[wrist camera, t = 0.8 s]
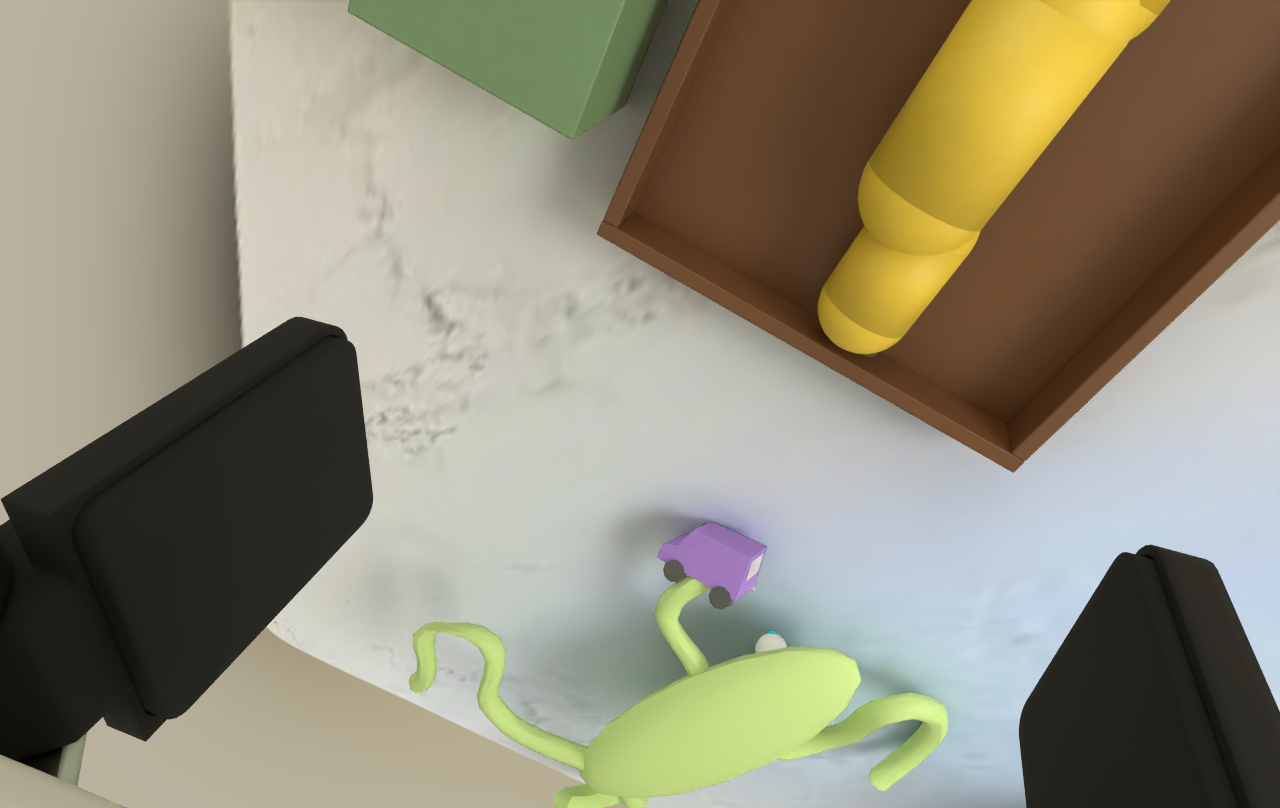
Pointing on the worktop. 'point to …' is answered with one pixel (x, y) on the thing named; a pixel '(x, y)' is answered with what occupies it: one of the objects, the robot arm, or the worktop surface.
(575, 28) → the block
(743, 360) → the worktop surface
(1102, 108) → the tray
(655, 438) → the worktop surface
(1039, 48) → the yellow stacked capsules
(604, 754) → the figurine
